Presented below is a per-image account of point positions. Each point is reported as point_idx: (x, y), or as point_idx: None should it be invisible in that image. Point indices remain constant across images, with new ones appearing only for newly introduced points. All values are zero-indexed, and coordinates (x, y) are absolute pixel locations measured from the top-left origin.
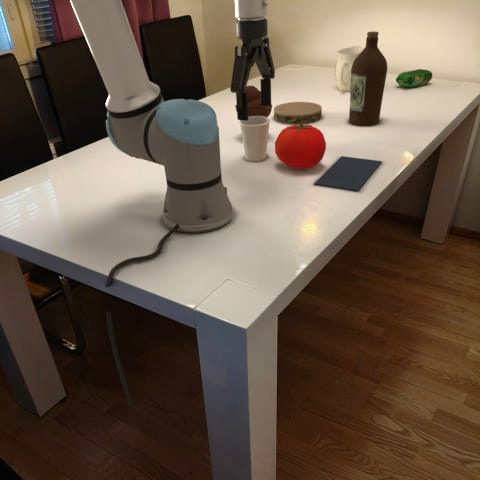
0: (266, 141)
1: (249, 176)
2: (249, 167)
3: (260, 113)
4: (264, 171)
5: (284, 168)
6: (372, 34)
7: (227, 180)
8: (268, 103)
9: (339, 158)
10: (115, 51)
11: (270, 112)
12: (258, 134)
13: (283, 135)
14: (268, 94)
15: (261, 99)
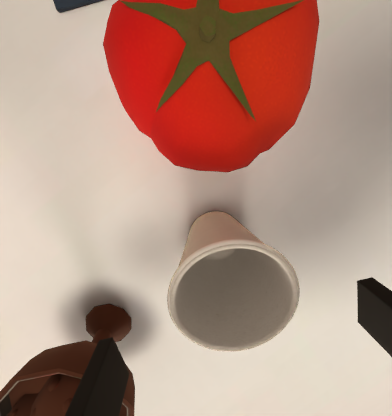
0: (213, 223)
1: (330, 165)
2: (278, 205)
3: None
4: (283, 154)
5: None
6: None
7: (373, 193)
8: (111, 355)
9: (78, 1)
10: None
11: (38, 355)
12: (258, 239)
13: (294, 95)
14: (91, 410)
15: (120, 404)
